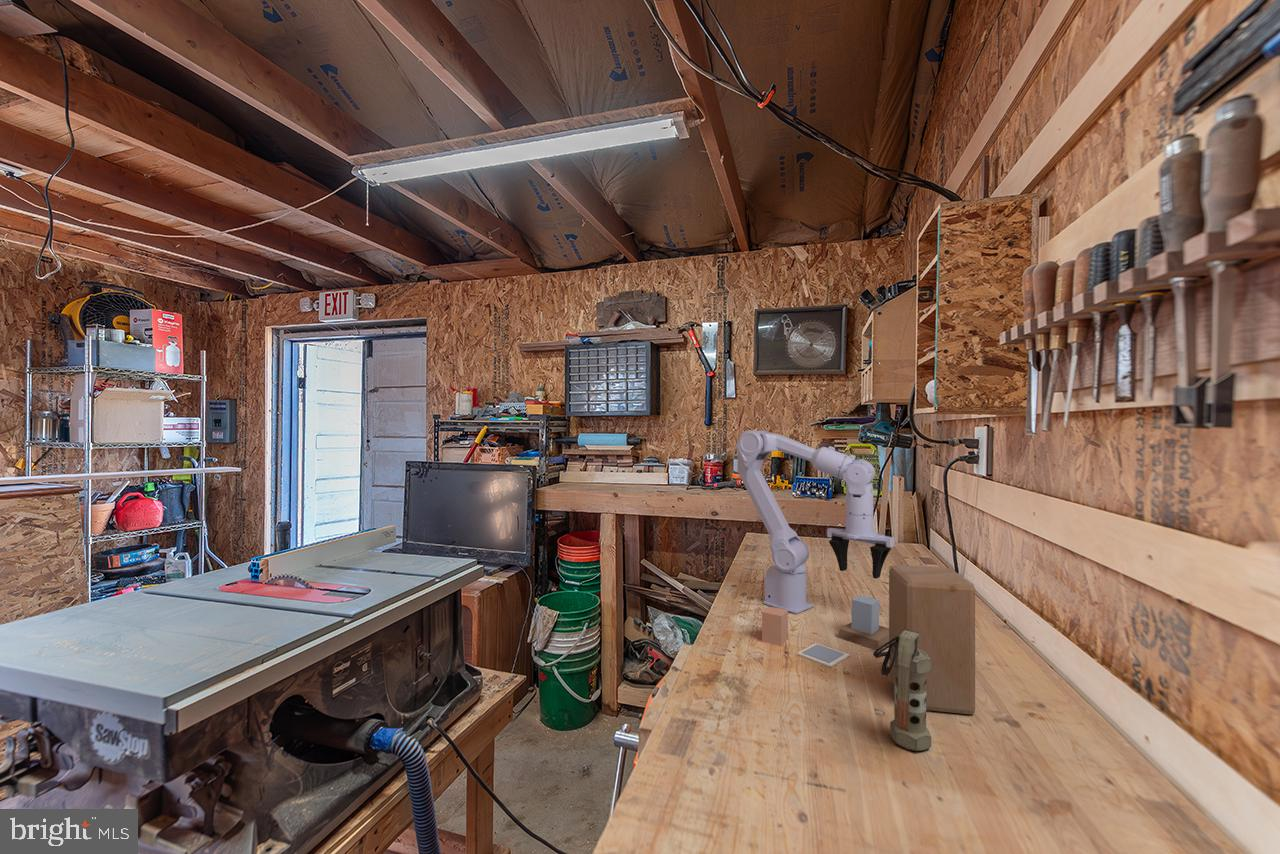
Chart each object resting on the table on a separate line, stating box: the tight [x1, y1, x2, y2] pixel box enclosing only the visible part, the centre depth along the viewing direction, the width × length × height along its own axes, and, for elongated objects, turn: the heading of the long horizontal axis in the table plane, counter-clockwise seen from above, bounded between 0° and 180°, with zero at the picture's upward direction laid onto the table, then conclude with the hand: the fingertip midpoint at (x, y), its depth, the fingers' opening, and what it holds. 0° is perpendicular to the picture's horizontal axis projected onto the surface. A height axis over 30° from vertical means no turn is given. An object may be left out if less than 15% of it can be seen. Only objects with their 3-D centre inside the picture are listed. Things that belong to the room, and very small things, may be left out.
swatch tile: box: [796, 642, 851, 668], centre depth 97 cm, size 7×7×1 cm
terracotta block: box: [761, 606, 789, 647], centre depth 104 cm, size 4×4×6 cm
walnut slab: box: [838, 622, 889, 651], centre depth 104 cm, size 8×8×2 cm
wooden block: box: [888, 564, 976, 715], centre depth 82 cm, size 10×10×20 cm
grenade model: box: [872, 630, 932, 752], centre depth 70 cm, size 6×7×15 cm
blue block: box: [850, 594, 880, 635], centre depth 105 cm, size 4×4×6 cm
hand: (859, 573), depth 115 cm, fingers open, 7 cm apart
